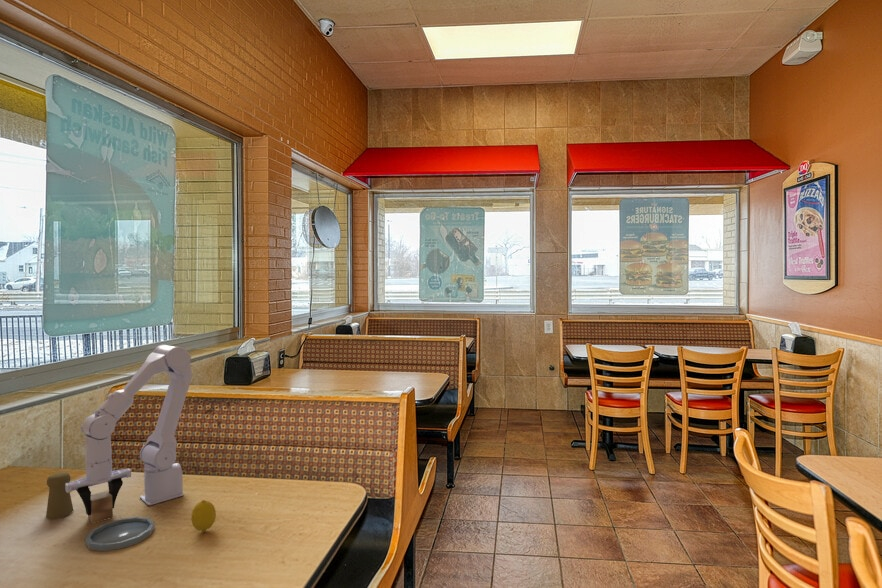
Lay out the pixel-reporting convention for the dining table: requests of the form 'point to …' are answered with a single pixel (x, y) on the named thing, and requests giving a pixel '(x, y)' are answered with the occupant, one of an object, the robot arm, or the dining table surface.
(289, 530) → the dining table surface
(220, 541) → the dining table surface
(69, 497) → the cork
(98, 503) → the block
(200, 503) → the lemon
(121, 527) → the plate
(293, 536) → the dining table surface
